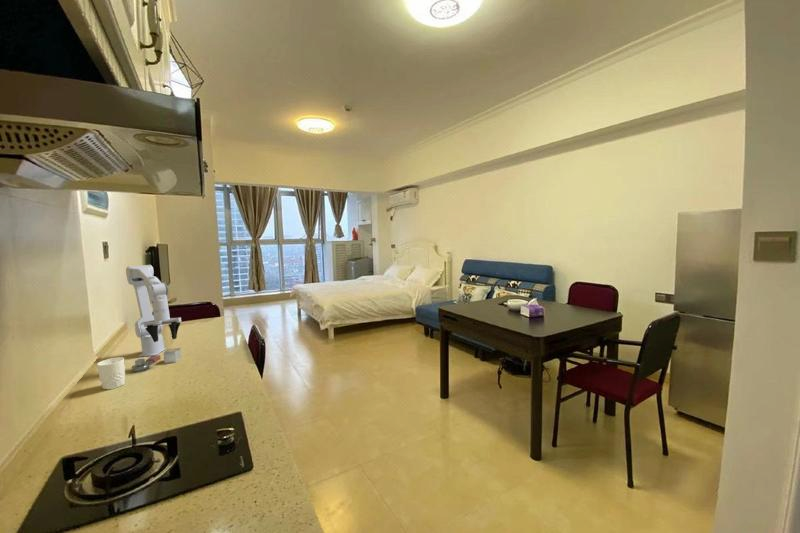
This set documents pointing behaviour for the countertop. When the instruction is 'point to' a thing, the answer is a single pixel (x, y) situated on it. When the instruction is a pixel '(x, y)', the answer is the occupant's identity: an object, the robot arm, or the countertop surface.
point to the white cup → (112, 373)
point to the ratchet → (144, 364)
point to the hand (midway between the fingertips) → (165, 340)
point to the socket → (172, 355)
